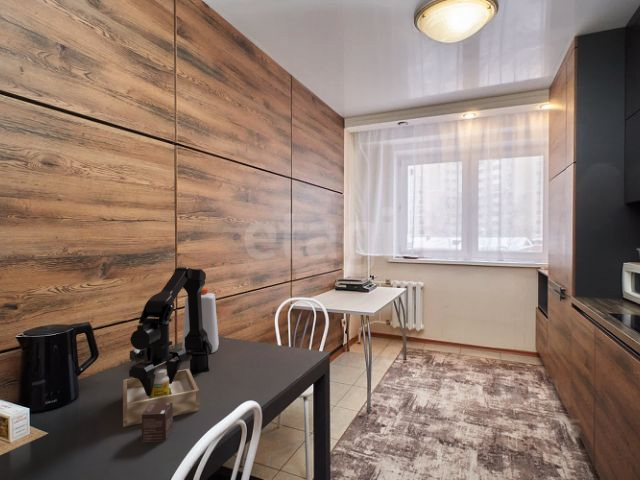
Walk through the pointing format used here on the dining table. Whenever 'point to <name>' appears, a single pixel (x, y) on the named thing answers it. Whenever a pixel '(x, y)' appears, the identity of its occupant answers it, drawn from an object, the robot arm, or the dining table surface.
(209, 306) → the plastic bottle
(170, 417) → the box
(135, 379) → the open box
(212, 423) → the dining table surface
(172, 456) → the dining table surface
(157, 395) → the supplement bottle
